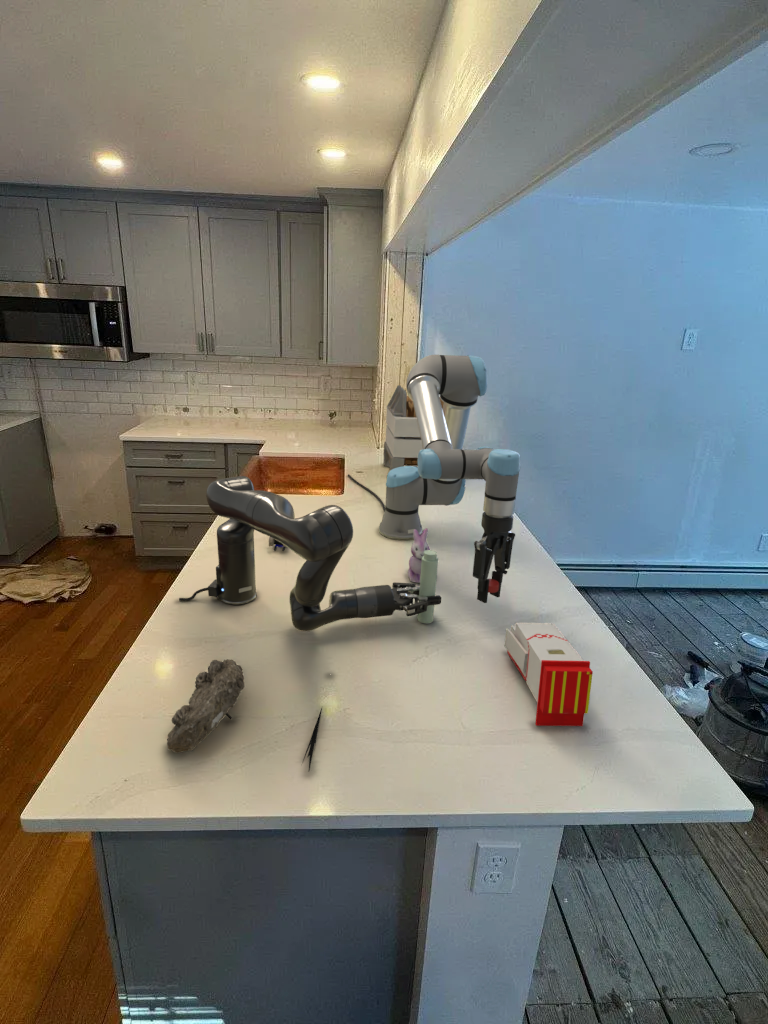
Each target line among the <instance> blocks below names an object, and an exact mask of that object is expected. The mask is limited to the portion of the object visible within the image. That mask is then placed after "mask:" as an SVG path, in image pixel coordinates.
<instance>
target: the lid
mask: <svg viewBox="0 0 768 1024" xmlns="http://www.w3.org/2000/svg"><path fill="white" fill-rule="evenodd" d="M488 579H489V589H488V594H490V593H495V592H497V591H499V582H498V581H496V580H494V579H492V578H488Z"/></svg>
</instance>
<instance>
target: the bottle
mask: <svg viewBox="0 0 768 1024" xmlns="http://www.w3.org/2000/svg"><path fill="white" fill-rule="evenodd" d="M438 564H439V557H438V554H437V551H435V550H433V549H430V550H426V551H424V556H423V557H422V562H421V576H420V583H419V587H420V590H419V596H420V597H427V596H436V590H437V589H436V588H437V577H438V568H439V567H438V566H439V565H438ZM418 602H421V600H419V601H418ZM420 608H421V607H420ZM434 613H435V605H429V606H427V611H425V612H422V613H419V614H417V618H416V619H417V621H418V622H419V623H421V624H431V623H432V622H434Z"/></svg>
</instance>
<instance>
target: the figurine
mask: <svg viewBox="0 0 768 1024" xmlns="http://www.w3.org/2000/svg"><path fill="white" fill-rule="evenodd" d="M428 534H429V528H426V527H425V528H424V529H423V530H422V534H421V535H419V533H418V531H417V530H416V529H414V530H413V537H414V539H413V543H412V545H411V547H410V552H411V556H410V558H409V560H408V566H409V567H408V571H407V577H408V578H409V581H410V582H411V583H417V584H420V576H421V562H422V557H423V556H424V551H426V550H431V548H430V545H429V543H428V540H427V539H428Z"/></svg>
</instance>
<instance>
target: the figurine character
mask: <svg viewBox="0 0 768 1024" xmlns="http://www.w3.org/2000/svg"><path fill="white" fill-rule="evenodd" d="M268 546H269V547H272V548H273V551H277V549H278V548H282V552H284V551H285V550H286V548H288V547H287V546H285V545H284V544H282V543H281V542H279V541H277V540H275V539H273V538H271V537H270V536H268Z"/></svg>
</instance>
